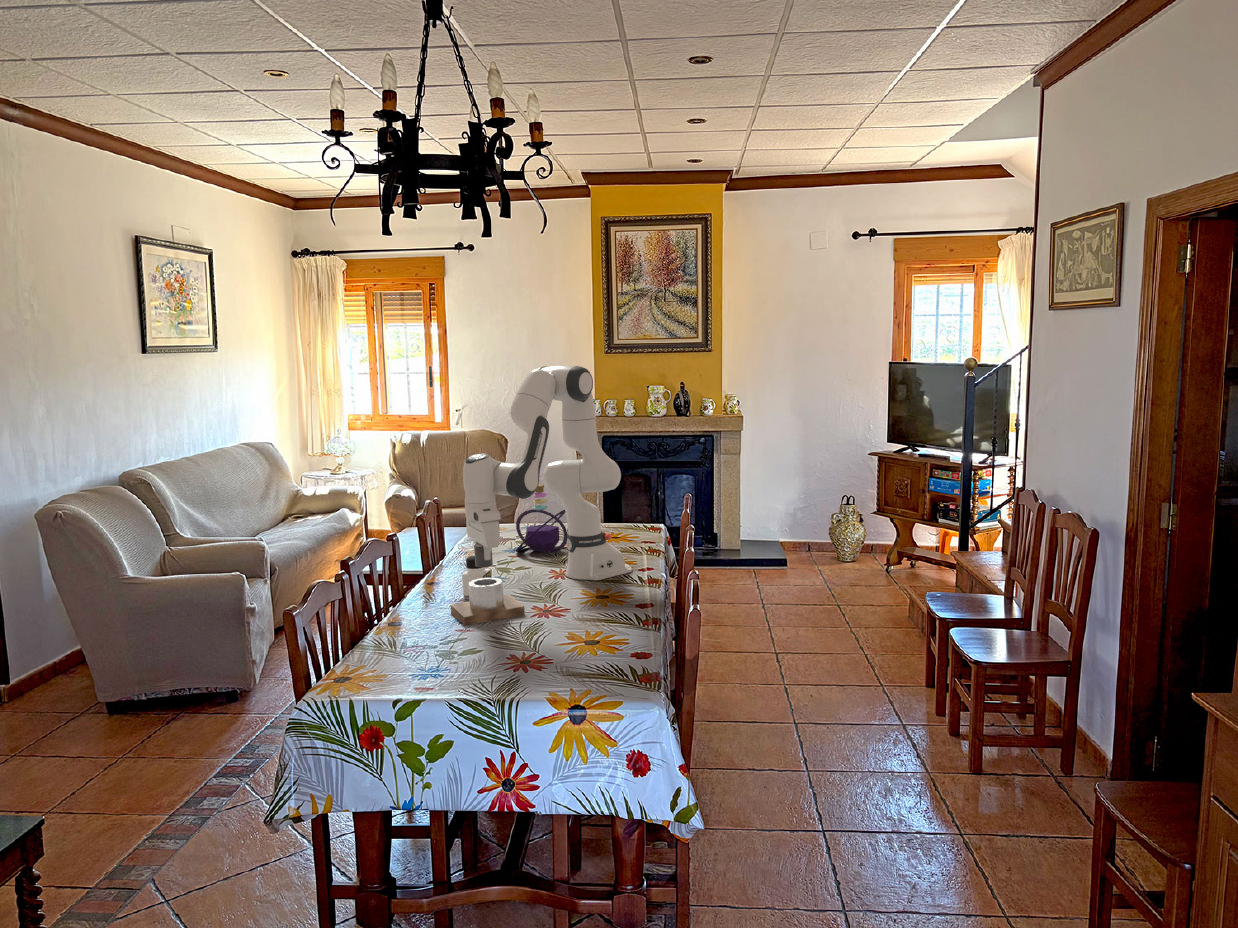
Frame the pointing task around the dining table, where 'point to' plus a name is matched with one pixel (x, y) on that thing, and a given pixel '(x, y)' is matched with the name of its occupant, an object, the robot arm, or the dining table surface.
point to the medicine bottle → (473, 573)
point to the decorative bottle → (542, 528)
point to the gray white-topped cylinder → (481, 557)
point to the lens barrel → (486, 594)
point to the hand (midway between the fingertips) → (483, 557)
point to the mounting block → (486, 611)
